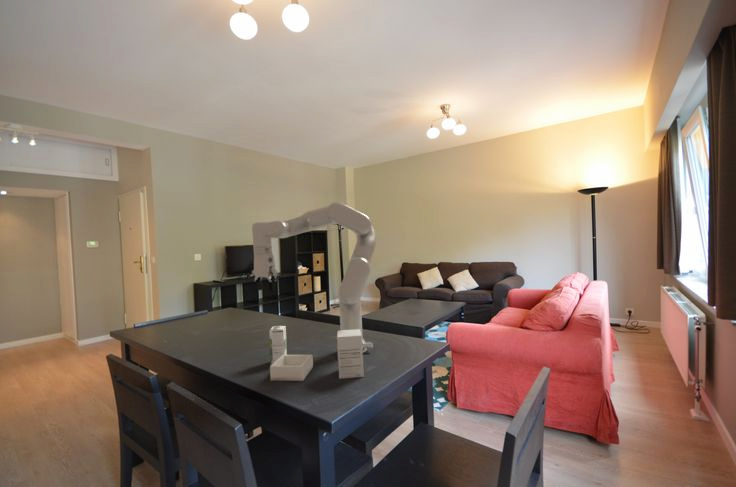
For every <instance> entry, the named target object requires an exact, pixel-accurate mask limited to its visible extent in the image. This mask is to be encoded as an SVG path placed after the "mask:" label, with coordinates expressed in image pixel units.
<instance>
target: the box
mask: <svg viewBox="0 0 736 487" xmlns="http://www.w3.org/2000/svg"><path fill="white" fill-rule="evenodd" d="M313 368H314V360H313V354H287V355H282V356H281V357H280V358H279V359H278V360H277V361H275V362H274V363H273V364H272V365H271V364H270V366H269V371H270V372H269V374H270V375H269V376H270V378H269V379H270V381H285V382H286V381H287V382H288V381H290V382H291V381H293V382H294V381H296V382H297V381H299V382H302V381H304V380H305V379H306V377H307V376H308V375H309V374H310V372H311V371H312V369H313Z"/></svg>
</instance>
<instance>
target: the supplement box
mask: <svg viewBox="0 0 736 487" xmlns="http://www.w3.org/2000/svg"><path fill="white" fill-rule="evenodd" d="M336 331H337V333H336V342H337V343H336V344H337V362H338V364H337V365H338V379H339V380H340V379H353V378H363V377H364V376H365V375H364V357H363V353H362V336H361V331H360V329H354V330H341V329H340V330H336Z"/></svg>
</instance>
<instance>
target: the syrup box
mask: <svg viewBox="0 0 736 487" xmlns="http://www.w3.org/2000/svg"><path fill="white" fill-rule="evenodd" d="M286 327H287V326H286V325H274V326H272V327H271V328H270V329H269V333H268V334H269V356H270V357H269V358H270V359H269V360H270V366H271V365H272V364H273V363H274V362H275V361H277V360H278V359H279V358H280V357H281V356H282V355H288V350H287V349H288V347H287V328H286Z"/></svg>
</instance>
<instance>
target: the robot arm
mask: <svg viewBox="0 0 736 487" xmlns="http://www.w3.org/2000/svg"><path fill="white" fill-rule="evenodd" d="M337 224H338V225H341V226H342V227H343V228H346V229H348V230H350V231H352V232H353V233H354V234H355V235H356V244H355V246H354V249H353V252H352V255H351V256H350V259H349V260H348V262H347V266H346V267H347V268H346V271H345V274H344V276H343V279H342V282H341V283H340V284H339V286H338V303H339V305H338V306H339V323H340V330H354V329H360V331H361V336H362V354H364V353H366V352H367V350H368V349H367V348H373V347H374V344H373V342H371V341H365V338H363V319H362V317H363V316H362V301H361V300H362V299H361V298H362V295H363V293H364V290H365V287H366V285H367V282H368V279H369V277H370V274H371V265H370V264H371V261H372V258H373V256H374V255H373V254H374V251H375V248H376V244H377V234H376V231H375V229H374V227H373V224H372V220H371V218H370V217H369V216H368V215H366V214H364V213H363V212H361V211H358V210H357V209H355V208H353V207H350V206H349V205H346V204H345V203H343V202H340V201H334V202H331V204H329V205H327V206H322V207H319V208H316V209H311V210H308V211H306V212H304V213H303V214H302V215H300V216H297V217H295V218H291V219H290V218H289V219H287V220H273V221H268V222H267V221H261V222H254V223H252V225H251V230H252V244H253V247H252V248H253V270H251V274H252V277H253V282H254V287H255V289H254V290H255V291H256V292H257V291H262V290H263V288H264V286H263V280H262V279H263V278H264V279H265V278H266V279H267V280H268V282H267V284H268V285H267V286H268V292H275V291H277V286H276V282H277V278H278V272H279V271H278V270H277V267H276V260H275V256H274V254H273V246H272V239H273V238H274V239H286V238H290V237H292V236H297V235H300V234H303V233H307V232H308V233H309V232H312V231H315V230H319V229H323V228H326V227H330V226H333V225H337Z"/></svg>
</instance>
